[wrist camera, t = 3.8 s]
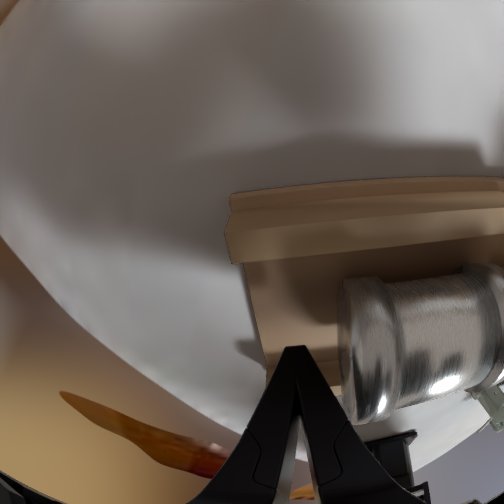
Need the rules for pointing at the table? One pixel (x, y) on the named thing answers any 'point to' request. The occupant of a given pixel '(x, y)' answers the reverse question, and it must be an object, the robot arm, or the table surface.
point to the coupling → (419, 339)
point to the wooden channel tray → (353, 248)
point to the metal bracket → (492, 406)
